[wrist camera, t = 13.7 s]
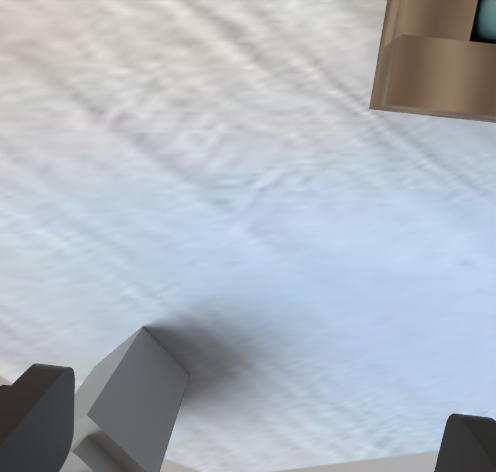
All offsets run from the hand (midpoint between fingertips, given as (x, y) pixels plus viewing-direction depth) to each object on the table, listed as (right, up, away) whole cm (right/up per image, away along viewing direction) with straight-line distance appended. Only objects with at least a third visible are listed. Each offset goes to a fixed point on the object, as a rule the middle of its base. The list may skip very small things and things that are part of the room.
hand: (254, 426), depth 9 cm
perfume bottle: (-11, -9, +34) cm, 37 cm away
